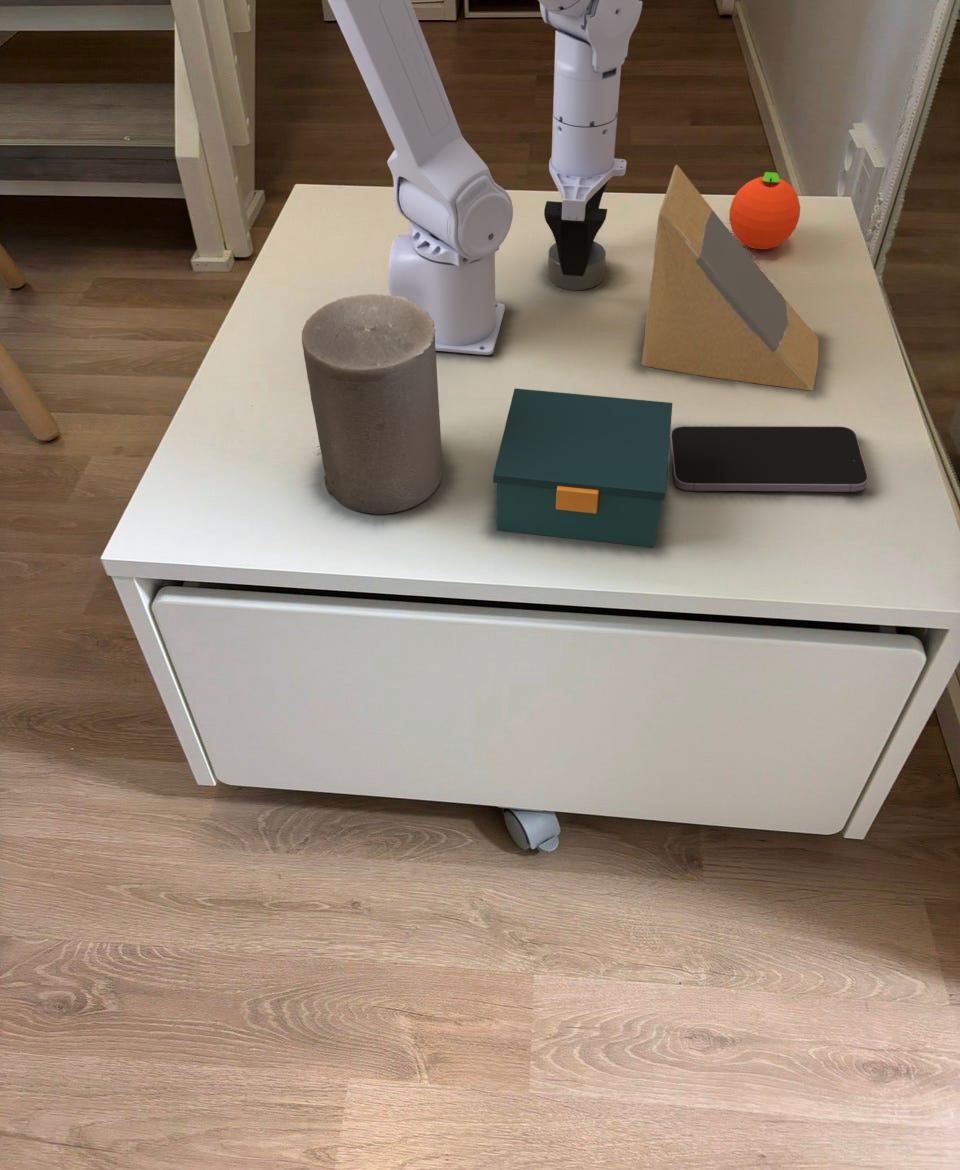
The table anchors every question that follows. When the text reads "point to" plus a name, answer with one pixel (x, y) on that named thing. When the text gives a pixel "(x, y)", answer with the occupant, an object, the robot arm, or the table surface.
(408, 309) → the pillar candle
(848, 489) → the smartphone
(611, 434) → the box
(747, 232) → the clementine
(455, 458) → the table surface
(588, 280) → the grey disc
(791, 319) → the sandwich container
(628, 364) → the table surface
